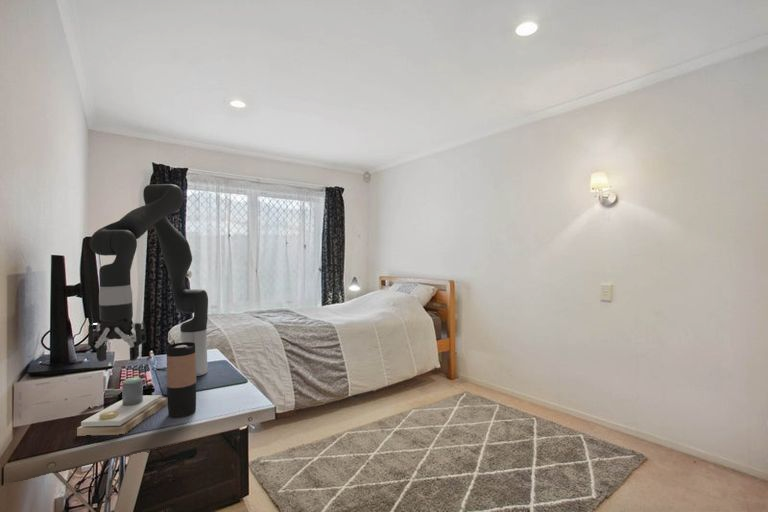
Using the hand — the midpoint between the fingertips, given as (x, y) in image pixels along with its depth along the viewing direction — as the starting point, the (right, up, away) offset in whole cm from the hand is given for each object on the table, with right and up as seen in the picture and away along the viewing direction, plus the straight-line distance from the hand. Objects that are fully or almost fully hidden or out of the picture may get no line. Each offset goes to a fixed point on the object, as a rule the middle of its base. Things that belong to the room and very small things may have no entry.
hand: (118, 360), depth 105 cm
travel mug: (+14, -18, +6) cm, 24 cm away
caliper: (-12, -18, +20) cm, 30 cm away
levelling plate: (0, -15, +3) cm, 15 cm away
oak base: (0, -18, +3) cm, 18 cm away
